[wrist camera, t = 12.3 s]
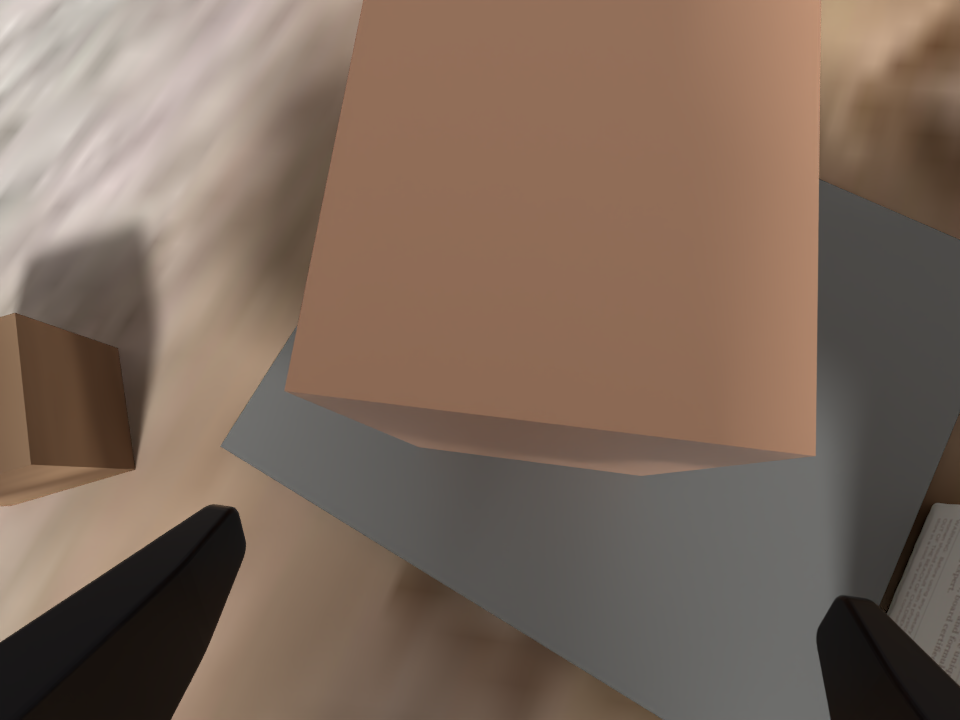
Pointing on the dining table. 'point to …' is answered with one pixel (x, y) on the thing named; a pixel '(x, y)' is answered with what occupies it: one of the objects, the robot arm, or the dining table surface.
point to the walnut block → (58, 411)
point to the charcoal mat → (679, 499)
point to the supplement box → (933, 590)
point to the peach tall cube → (574, 232)
